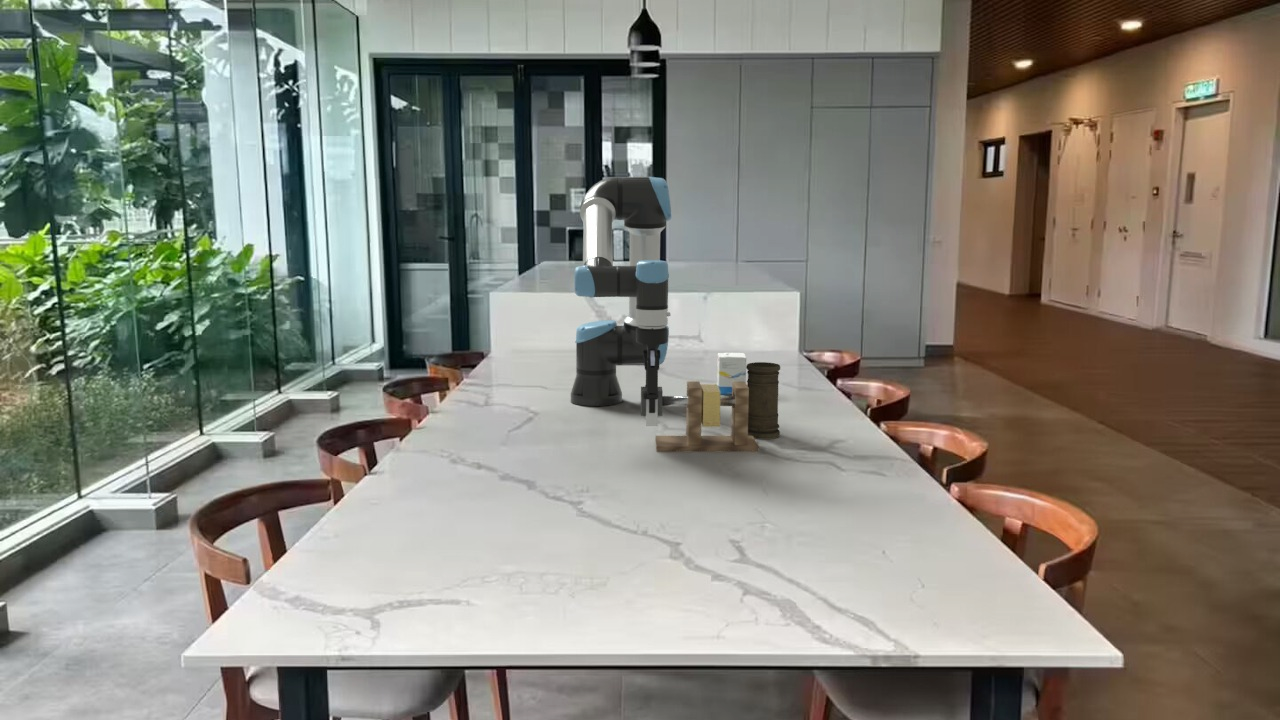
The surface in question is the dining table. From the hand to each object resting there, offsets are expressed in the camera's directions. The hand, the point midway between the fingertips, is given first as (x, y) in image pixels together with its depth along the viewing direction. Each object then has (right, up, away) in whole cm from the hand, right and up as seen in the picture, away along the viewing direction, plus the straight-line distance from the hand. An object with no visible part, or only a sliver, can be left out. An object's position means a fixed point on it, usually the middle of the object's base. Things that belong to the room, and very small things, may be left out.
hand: (651, 422), depth 221 cm
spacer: (+14, 0, 0) cm, 14 cm away
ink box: (+25, +5, +63) cm, 68 cm away
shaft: (+10, +2, 0) cm, 10 cm away
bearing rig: (+13, -6, +1) cm, 14 cm away
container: (+28, -4, +12) cm, 31 cm away
